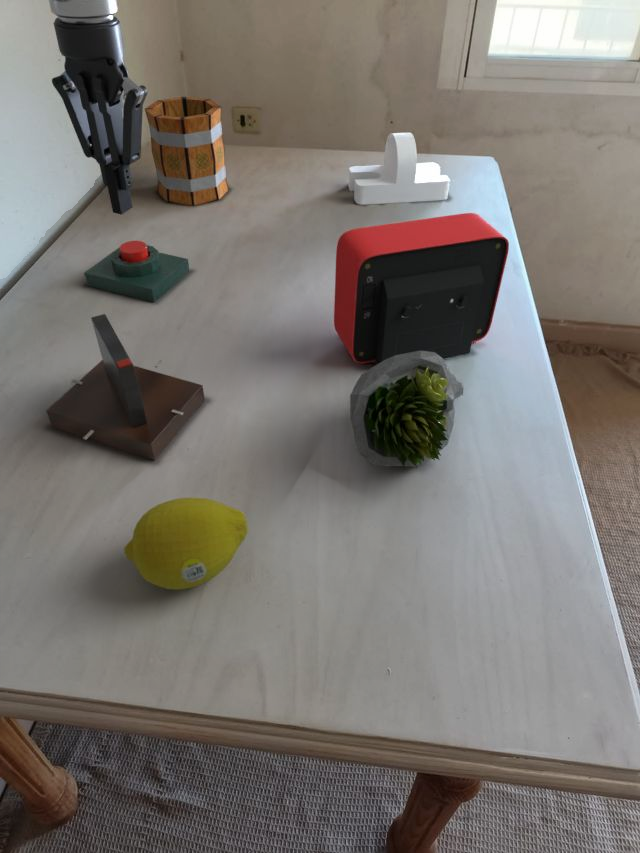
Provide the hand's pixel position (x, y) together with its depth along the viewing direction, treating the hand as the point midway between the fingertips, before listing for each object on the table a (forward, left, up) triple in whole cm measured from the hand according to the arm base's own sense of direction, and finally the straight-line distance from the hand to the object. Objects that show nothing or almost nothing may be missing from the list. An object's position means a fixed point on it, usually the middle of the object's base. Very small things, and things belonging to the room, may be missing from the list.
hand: (122, 209), depth 90 cm
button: (0, 0, -7) cm, 7 cm away
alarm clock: (+44, 0, -11) cm, 46 cm away
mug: (-11, +35, -11) cm, 38 cm away
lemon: (+35, -43, -11) cm, 57 cm away
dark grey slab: (+17, -27, -8) cm, 33 cm away
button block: (0, 0, -11) cm, 11 cm away
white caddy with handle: (+27, +48, -11) cm, 56 cm away
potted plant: (+49, -20, -11) cm, 54 cm away
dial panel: (+17, -27, -11) cm, 34 cm away
